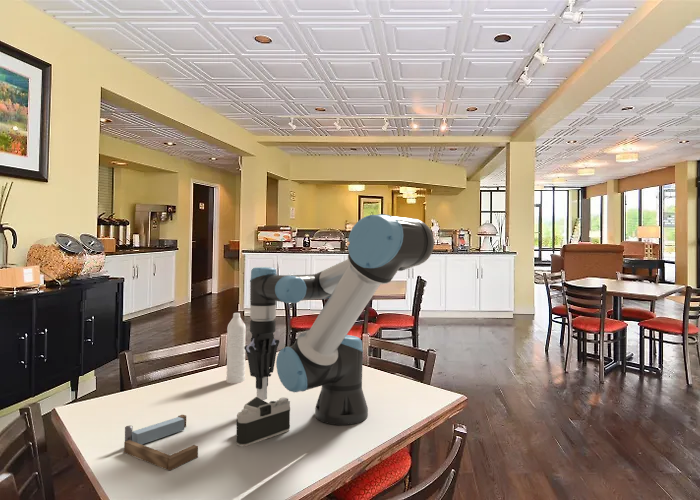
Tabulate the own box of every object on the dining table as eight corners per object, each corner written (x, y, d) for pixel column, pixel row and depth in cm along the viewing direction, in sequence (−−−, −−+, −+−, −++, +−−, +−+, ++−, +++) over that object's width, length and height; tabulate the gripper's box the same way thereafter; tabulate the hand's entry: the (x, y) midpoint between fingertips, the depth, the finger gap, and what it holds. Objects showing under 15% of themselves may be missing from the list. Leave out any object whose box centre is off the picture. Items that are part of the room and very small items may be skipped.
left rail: (197, 457, 102) (198, 446, 102) (169, 470, 95) (170, 458, 95) (193, 455, 102) (193, 444, 102) (165, 468, 96) (165, 457, 96)
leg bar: (137, 445, 106) (137, 434, 106) (131, 443, 108) (132, 431, 108) (184, 429, 116) (184, 419, 116) (178, 427, 118) (178, 416, 118)
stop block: (186, 426, 119) (186, 415, 119) (181, 428, 118) (181, 417, 118) (182, 425, 120) (182, 414, 120) (177, 427, 119) (178, 416, 119)
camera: (275, 421, 124) (275, 385, 124) (295, 430, 118) (295, 392, 118) (224, 438, 112) (224, 398, 112) (243, 448, 107) (244, 406, 107)
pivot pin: (133, 447, 106) (133, 426, 106) (127, 450, 105) (127, 428, 105) (129, 445, 107) (129, 425, 107) (123, 448, 106) (123, 427, 106)
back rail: (171, 467, 97) (172, 455, 97) (167, 469, 96) (167, 458, 96) (129, 450, 105) (129, 439, 105) (124, 452, 103) (124, 441, 104)
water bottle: (230, 386, 156) (231, 314, 157) (223, 381, 162) (224, 312, 162) (253, 382, 162) (254, 312, 162) (246, 377, 167) (247, 310, 167)
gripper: (268, 315, 140) (267, 391, 140) (237, 320, 129) (236, 402, 129) (286, 317, 136) (285, 395, 136) (257, 323, 125) (255, 407, 125)
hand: (261, 398), depth 133 cm, fingers closed
